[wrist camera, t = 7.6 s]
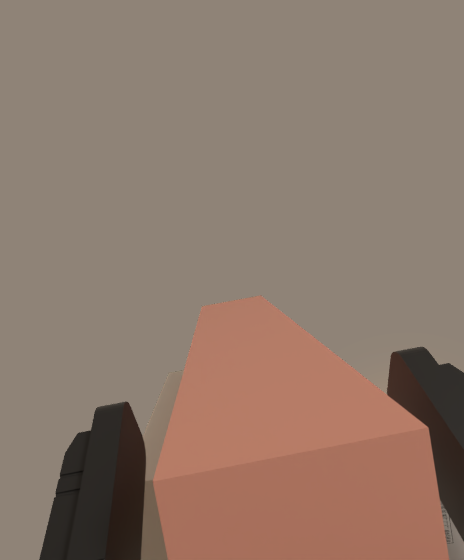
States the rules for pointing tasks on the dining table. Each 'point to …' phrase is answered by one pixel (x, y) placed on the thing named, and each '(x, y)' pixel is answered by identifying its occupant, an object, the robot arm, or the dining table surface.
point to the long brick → (290, 452)
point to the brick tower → (153, 439)
